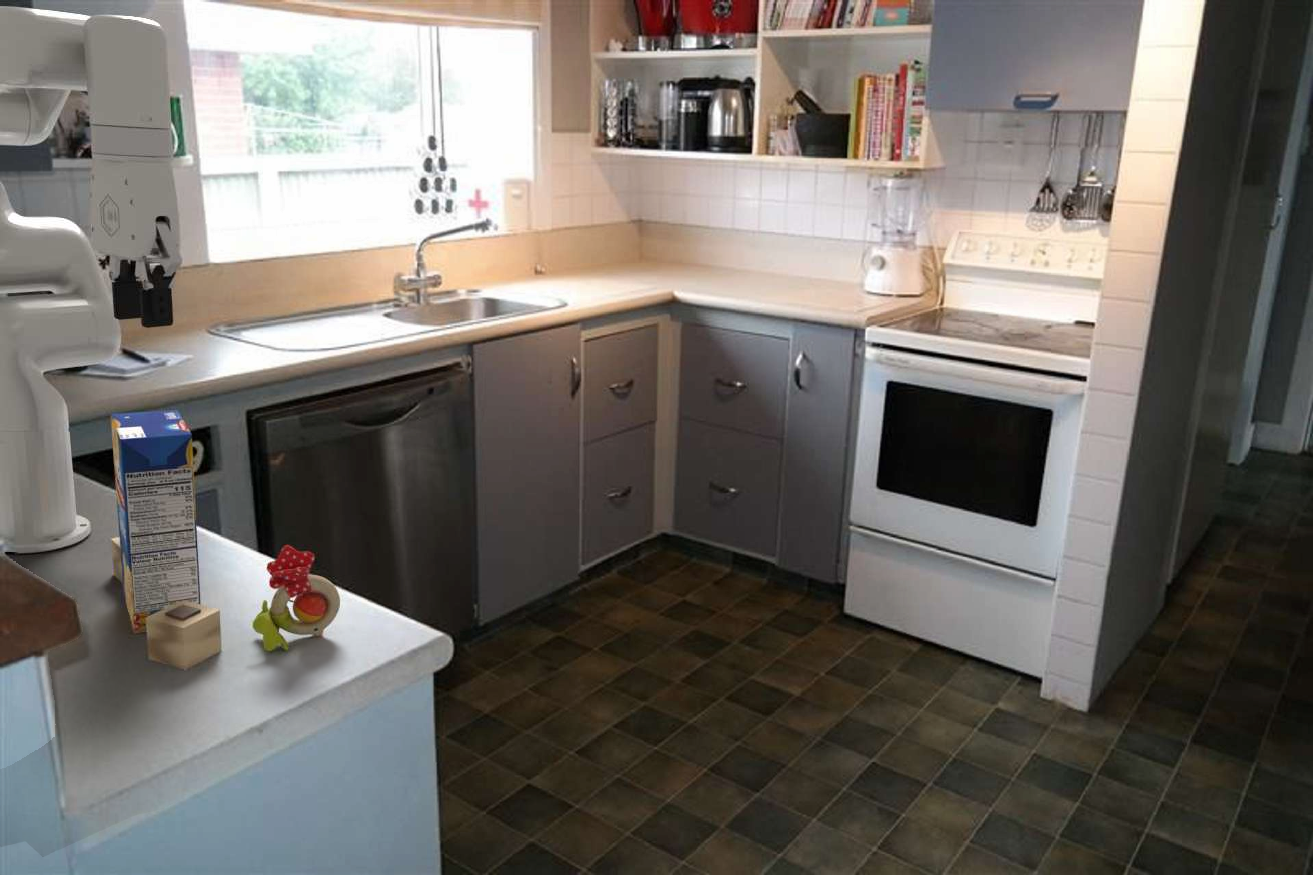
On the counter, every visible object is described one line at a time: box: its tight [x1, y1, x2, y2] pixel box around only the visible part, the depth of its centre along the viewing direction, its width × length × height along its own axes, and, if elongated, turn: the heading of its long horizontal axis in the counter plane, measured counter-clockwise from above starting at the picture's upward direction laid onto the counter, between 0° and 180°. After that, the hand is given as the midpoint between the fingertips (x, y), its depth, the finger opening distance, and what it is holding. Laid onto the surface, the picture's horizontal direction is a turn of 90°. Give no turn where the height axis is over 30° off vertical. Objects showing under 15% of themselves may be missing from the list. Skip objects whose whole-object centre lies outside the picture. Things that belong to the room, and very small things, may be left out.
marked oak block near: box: [146, 600, 222, 670], centre depth 112 cm, size 5×5×5 cm
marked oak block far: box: [110, 536, 123, 584], centre depth 130 cm, size 5×5×5 cm
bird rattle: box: [252, 544, 341, 652], centre depth 117 cm, size 6×11×9 cm
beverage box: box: [110, 409, 202, 633], centre depth 120 cm, size 7×11×22 cm, turn 31°
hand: (143, 320), depth 114 cm, fingers open, 4 cm apart
